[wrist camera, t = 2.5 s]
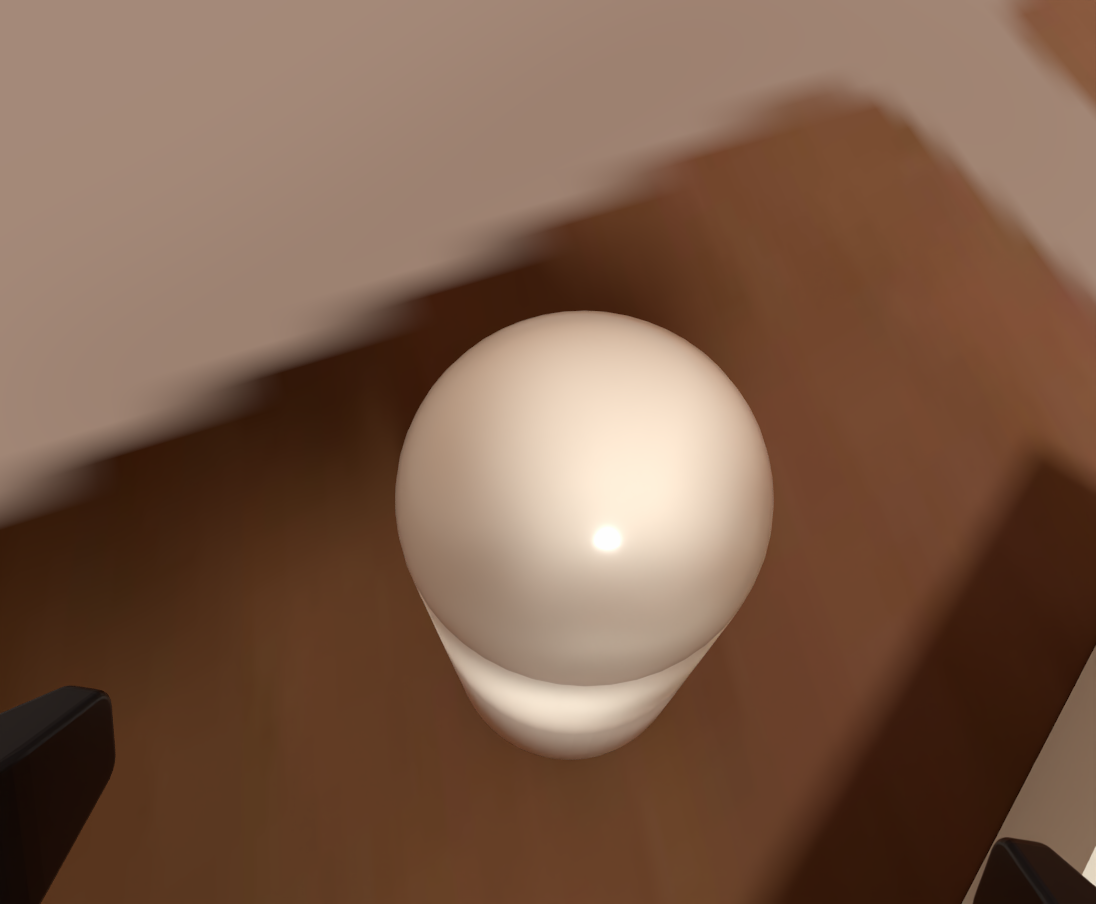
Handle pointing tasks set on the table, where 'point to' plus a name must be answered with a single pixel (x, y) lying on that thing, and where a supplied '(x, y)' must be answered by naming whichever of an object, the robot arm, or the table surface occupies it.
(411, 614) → the table surface
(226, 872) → the table surface
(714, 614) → the cream capsule cylinder
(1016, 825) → the compartment tray
